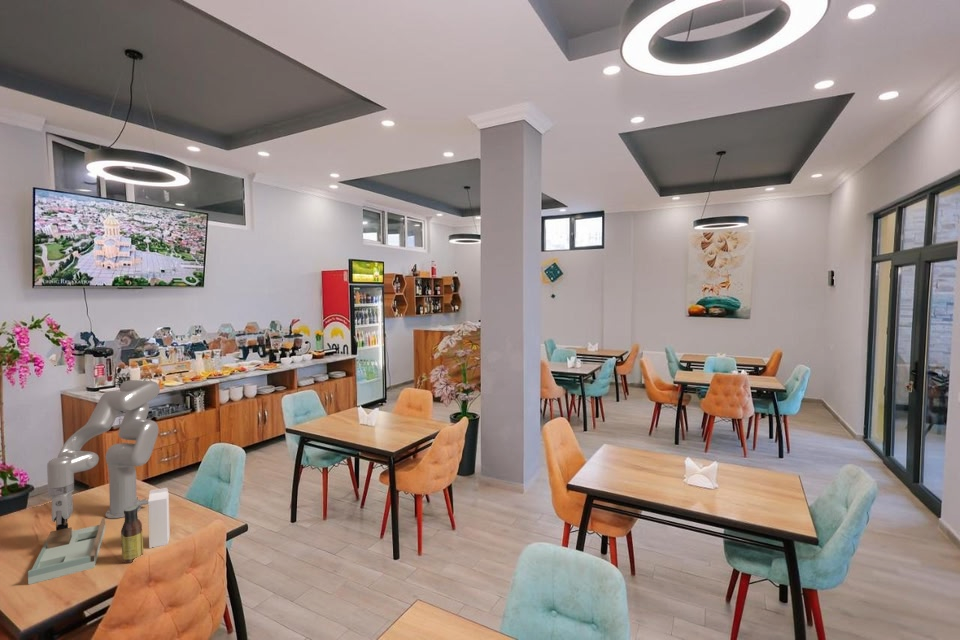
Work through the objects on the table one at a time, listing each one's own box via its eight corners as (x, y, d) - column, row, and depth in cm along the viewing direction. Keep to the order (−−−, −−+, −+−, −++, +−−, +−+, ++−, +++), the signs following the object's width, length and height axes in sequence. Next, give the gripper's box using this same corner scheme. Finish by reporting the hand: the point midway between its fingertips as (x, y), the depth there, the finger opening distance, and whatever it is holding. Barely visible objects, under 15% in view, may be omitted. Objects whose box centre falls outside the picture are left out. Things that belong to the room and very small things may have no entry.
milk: (167, 544, 175) (166, 490, 174) (148, 548, 172) (147, 493, 171) (169, 537, 180) (168, 484, 179) (151, 541, 177) (150, 487, 176)
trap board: (105, 529, 186) (105, 517, 186) (94, 567, 160) (94, 554, 159) (49, 541, 176) (49, 529, 176) (28, 584, 150) (27, 570, 150)
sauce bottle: (130, 554, 168) (128, 503, 167) (147, 554, 169) (146, 503, 168) (117, 564, 162) (116, 511, 161) (135, 564, 162) (134, 511, 161)
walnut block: (71, 537, 175) (71, 527, 175) (68, 544, 170) (68, 533, 170) (51, 541, 172) (50, 531, 172) (47, 548, 167) (47, 538, 167)
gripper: (70, 493, 170) (71, 540, 171) (77, 480, 183) (78, 524, 183) (43, 498, 166) (44, 546, 167) (52, 484, 178) (53, 529, 179)
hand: (62, 534), depth 175 cm, fingers closed
